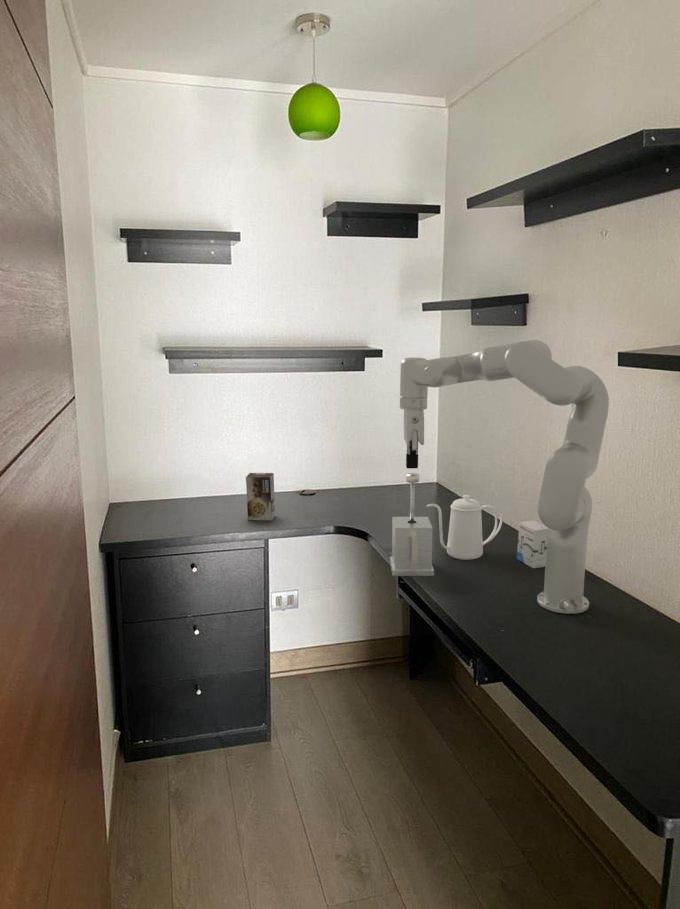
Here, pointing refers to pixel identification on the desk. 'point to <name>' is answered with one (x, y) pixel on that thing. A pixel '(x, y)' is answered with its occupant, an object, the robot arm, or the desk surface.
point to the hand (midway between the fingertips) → (411, 467)
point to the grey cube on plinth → (411, 547)
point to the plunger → (412, 492)
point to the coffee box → (260, 496)
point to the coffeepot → (466, 528)
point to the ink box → (532, 544)
